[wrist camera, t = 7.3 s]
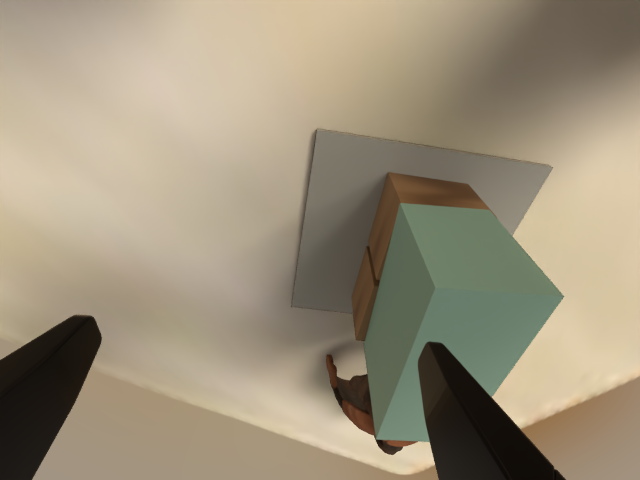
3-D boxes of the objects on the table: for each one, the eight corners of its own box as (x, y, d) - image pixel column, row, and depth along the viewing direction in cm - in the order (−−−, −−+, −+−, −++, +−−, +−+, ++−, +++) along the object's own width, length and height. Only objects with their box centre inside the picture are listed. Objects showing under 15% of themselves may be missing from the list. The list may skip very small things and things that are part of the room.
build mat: (549, 164, 19) (553, 167, 19) (457, 321, 27) (458, 325, 27) (317, 128, 18) (317, 130, 18) (291, 303, 26) (291, 306, 26)
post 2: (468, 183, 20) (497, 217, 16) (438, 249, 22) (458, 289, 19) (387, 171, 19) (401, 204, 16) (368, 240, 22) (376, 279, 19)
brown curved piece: (309, 331, 29) (354, 391, 22) (396, 293, 32) (461, 335, 25) (334, 429, 33) (379, 508, 26) (409, 387, 36) (468, 446, 29)
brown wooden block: (435, 255, 23) (455, 295, 19) (413, 304, 25) (427, 347, 22) (366, 246, 22) (374, 286, 19) (351, 297, 25) (355, 340, 22)
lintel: (400, 203, 16) (435, 288, 11) (489, 209, 16) (563, 296, 11) (363, 344, 22) (376, 439, 17) (428, 348, 22) (458, 443, 17)
